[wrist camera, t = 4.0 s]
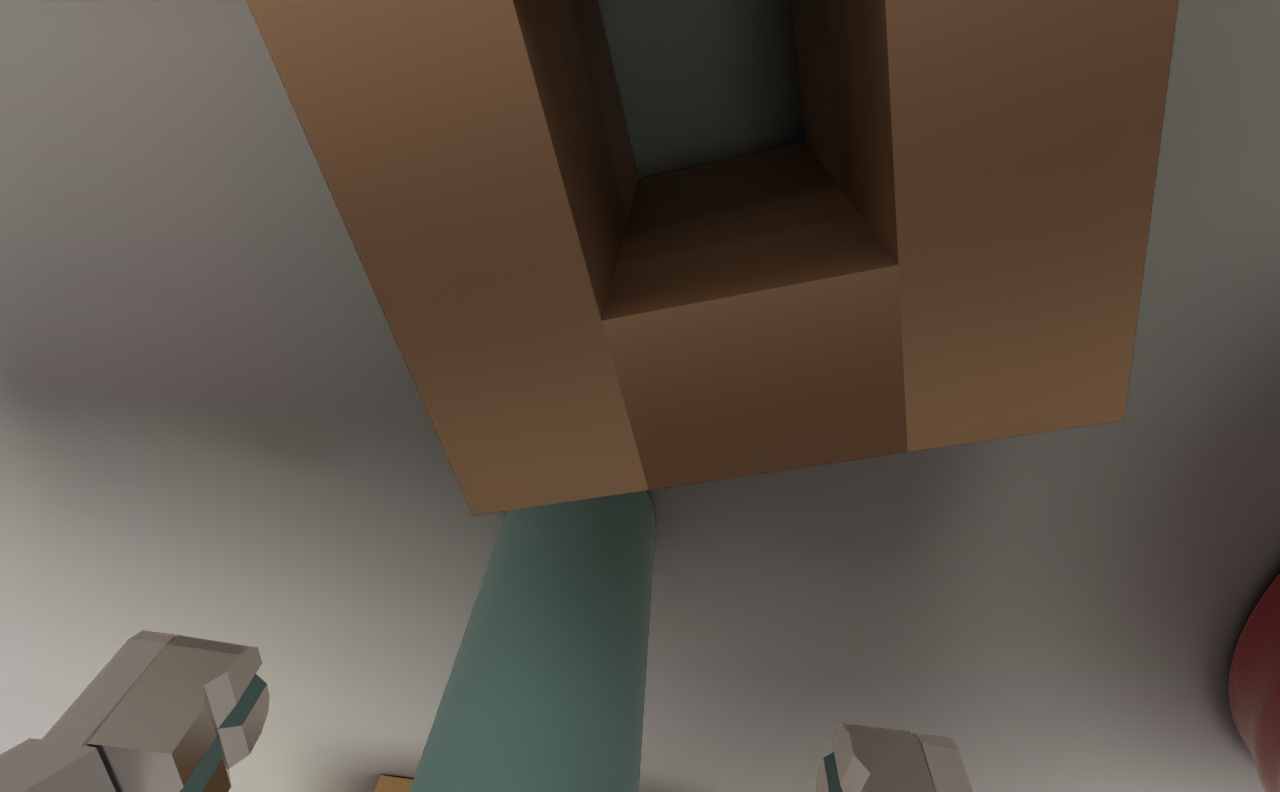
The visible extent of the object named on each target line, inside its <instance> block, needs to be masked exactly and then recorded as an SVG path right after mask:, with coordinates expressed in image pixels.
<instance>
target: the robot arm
mask: <svg viewBox="0 0 1280 792" xmlns="http://www.w3.org/2000/svg"><path fill="white" fill-rule="evenodd" d="M261 664H262V661H261V657H260V654H259V651H258V647H253V646H246V645H240V644H233V643H226V642H220V641H213V640H206V639H200V638H193V637H186V636H182V635H175V634H167V633H160V632H152V631H145V630H143V631H141V632H139V633H138V634H136V635H135V636H133V637H131V638H130V639H129V640H127V641H126V643H125V644H124V645H123V646H122V647H121V648H120V650H119V651H118V652H117V653H116V654H115V655H114V656H113V658H112V659H111V660H110V661H109V662H108V663H107V665H106V666H105V667H104V668H103V669H102V670H101V671H100V673H99V674H98V675H97V676H96V677H95V678H94V680H93V681H92V682H91V683H90V684H89V685H88V686H87V688H86V689H85V690H84V691H83V692H82V693H81V695H80V696H79V697H78V698H77V699H76V700H75V701H74V703H73V704H72V705H71V706H70V707H69V708H68V710H67V711H66V712H65V713H64V714H63V715H62V716H61V718H60V719H59V720H58V721H57V722H56V723H55V725H54V726H53V727H52V728H51V729H50V730H49V731H48V733H47V734H46V735H45V736H44V737H43V738H42V739H32V738H29V739H28V740H26V741H24V742H22V743H21V744H19V745H17V746H15V747H13V748H12V749H10V750H8V751H6V752H4V753H3V754H1V755H0V792H228V791H229V789H230V788H231V782H230V774H229V768H231V767H232V766H234V765H235V764H236V763H238V762H239V761H241V760H242V759H244V758H245V757H246V756H248V755H249V754H250V753H251V751H252V749H253V747H254V745H255V743H256V742H257V740H258V738H259V736H260V734H261V732H262V729H263V726H264V723H265V720H266V717H267V714H268V707H269V692H268V687H267V684H266V683H265V682H264V681H263V680H262V679H261V678H260V677H259V676H258V675H256V672H257V670H258V669H259V667H260V666H261ZM832 743H833V749H834V752H833V753H831V754H829V755H828V756H826V757H824V758H823V760H822V763H821V766H820V768H819V771H818V776H817V785H816V792H973V790H972V787H971V784H970V782H969V779H968V776H967V773H966V770H965V768H964V765H963V762H962V759H961V757H960V754H959V751H958V748H957V746H956V745H955V744H954V742H953V741H952V740H951V739H950V738H947V737H942V736H933V735H924V734H914V733H911V732H910V731H901V730H892V729H884V728H875V727H866V726H858V725H849V724H841V725H840V726H838V727H837V728H836V730H835V732H834V735H833V737H832Z"/></svg>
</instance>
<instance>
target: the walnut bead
mask: <svg viewBox="0 0 1280 792" xmlns="http://www.w3.org/2000/svg"><path fill="white" fill-rule="evenodd" d="M246 1H247V3H248V6H249V8H250V10H251V13H252V15H253V17H254V19H255V22H256V24H257V26H258V28H259V31H260V33H261V35H262V38H263V40H264V42H265V44H266V47H267V49H268V51H269V53H270V56H271V58H272V60H273V63H274V65H275V67H276V69H277V72H278V74H279V76H280V78H281V81H282V83H283V85H284V88H285V90H286V92H287V94H288V97H289V99H290V101H291V103H292V106H293V108H294V110H295V112H296V115H297V117H298V119H299V122H300V124H301V126H302V128H303V131H304V133H305V135H306V137H307V140H308V142H309V144H310V147H311V149H312V151H313V153H314V156H315V158H316V160H317V162H318V165H319V167H320V169H321V172H322V174H323V176H324V178H325V181H326V183H327V185H328V187H329V190H330V192H331V194H332V197H333V199H334V201H335V203H336V206H337V208H338V210H339V212H340V215H341V217H342V219H343V222H344V224H345V226H346V228H347V231H348V233H349V235H350V237H351V240H352V242H353V244H354V247H355V249H356V251H357V253H358V256H359V258H360V260H361V262H362V265H363V267H364V269H365V272H366V274H367V276H368V278H369V281H370V283H371V285H372V287H373V290H374V292H375V294H376V296H377V299H378V301H379V303H380V306H381V308H382V310H383V312H384V315H385V317H386V319H387V321H388V324H389V326H390V328H391V331H392V333H393V335H394V337H395V340H396V342H397V344H398V346H399V349H400V351H401V353H402V356H403V358H404V360H405V362H406V365H407V367H408V369H409V371H410V374H411V376H412V378H413V381H414V383H415V385H416V387H417V390H418V392H419V394H420V396H421V399H422V401H423V403H424V406H425V408H426V410H427V412H428V415H429V417H430V419H431V421H432V424H433V426H434V428H435V431H436V433H437V435H438V437H439V440H440V442H441V444H442V446H443V449H444V451H445V453H446V455H447V458H448V460H449V462H450V465H451V467H452V469H453V471H454V474H455V476H456V478H457V480H458V483H459V485H460V487H461V490H462V492H463V494H464V496H465V499H466V501H467V503H468V505H469V508H470V510H471V512H472V515H480V514H487V513H494V512H501V511H508V510H514V509H521V508H528V507H535V506H542V505H549V504H555V503H562V502H569V501H576V500H583V499H590V498H597V497H603V496H610V495H617V494H624V493H631V492H638V491H645V490H651V489H658V488H665V487H672V486H679V485H686V484H692V483H699V482H706V481H713V480H720V479H727V478H734V477H740V476H747V475H754V474H761V473H768V472H775V471H782V470H788V469H795V468H802V467H809V466H816V465H823V464H829V463H836V462H843V461H850V460H857V459H864V458H871V457H877V456H884V455H891V454H898V453H905V452H912V451H919V450H925V449H932V448H939V447H946V446H953V445H960V444H966V443H973V442H980V441H987V440H994V439H1001V438H1008V437H1014V436H1021V435H1028V434H1035V433H1042V432H1049V431H1056V430H1062V429H1069V428H1076V427H1083V426H1090V425H1097V424H1103V423H1110V422H1117V421H1124V419H1125V411H1126V403H1127V395H1128V388H1129V380H1130V372H1131V365H1132V357H1133V349H1134V341H1135V334H1136V326H1137V318H1138V311H1139V303H1140V295H1141V287H1142V280H1143V272H1144V264H1145V257H1146V249H1147V241H1148V233H1149V226H1150V218H1151V210H1152V203H1153V195H1154V187H1155V180H1156V172H1157V164H1158V156H1159V149H1160V141H1161V133H1162V126H1163V118H1164V110H1165V102H1166V95H1167V87H1168V79H1169V72H1170V64H1171V56H1172V48H1173V41H1174V33H1175V25H1176V18H1177V10H1178V2H1179V0H790V1H791V10H792V19H793V29H794V38H795V47H796V56H797V66H798V75H799V84H800V94H801V103H802V112H803V121H804V131H805V140H806V142H805V143H801V144H796V145H791V146H787V147H782V148H778V149H773V150H769V151H764V152H760V153H755V154H751V155H746V156H742V157H737V158H733V159H728V160H723V161H719V162H714V163H710V164H705V165H701V166H696V167H692V168H687V169H683V170H678V171H674V172H669V173H664V174H660V175H655V176H651V177H646V178H642V179H638V176H637V171H636V167H635V162H634V158H633V153H632V149H631V145H630V140H629V136H628V131H627V127H626V122H625V118H624V113H623V109H622V105H621V100H620V96H619V91H618V87H617V82H616V78H615V73H614V69H613V65H612V60H611V56H610V51H609V47H608V42H607V38H606V33H605V29H604V25H603V20H602V16H601V11H600V7H599V2H598V0H246Z"/></svg>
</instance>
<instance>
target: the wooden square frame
mask: <svg viewBox="0 0 1280 792" xmlns="http://www.w3.org/2000/svg"><path fill="white" fill-rule="evenodd" d="M413 780H414V779H406V778H398V777H391V776H383V775H381V776H380V778H379V781H378V784H377V786H376V789H375V791H374V792H410V789H411V786H412V783H413Z"/></svg>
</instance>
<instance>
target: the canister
mask: <svg viewBox="0 0 1280 792" xmlns="http://www.w3.org/2000/svg"><path fill="white" fill-rule="evenodd" d="M1228 698H1229V704H1230V711H1231V714H1232V717H1233V720H1234V724H1235V726H1236V728H1237V730H1238V732H1239V734H1240V736H1241V738H1242V739H1243V741H1244V743H1245V744H1246V746H1247V747H1248V749H1249V751H1250V752H1251V754H1252V756H1253V757H1254V760H1255V764H1256V768H1257V771H1258V774H1259V778H1260V781H1261V783H1262V785H1263V787H1264V789H1265V791H1266V792H1280V573H1279V575H1278V576H1277V577H1276V578H1275V580H1274V581H1273V582H1272V584H1271V585H1270V586H1269V588H1268V589H1267V590H1266V592H1265V593H1264V594H1263V596H1262V597H1261V599H1260V601H1259V602H1258V604H1257V605H1256V607H1255V608H1254V610H1253V612H1252V613H1251V615H1250V617H1249V619H1248V621H1247V623H1246V625H1245V627H1244V629H1243V631H1242V633H1241V635H1240V638H1239V640H1238V643H1237V645H1236V648H1235V651H1234V654H1233V658H1232V662H1231V666H1230V673H1229V680H1228Z"/></svg>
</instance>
